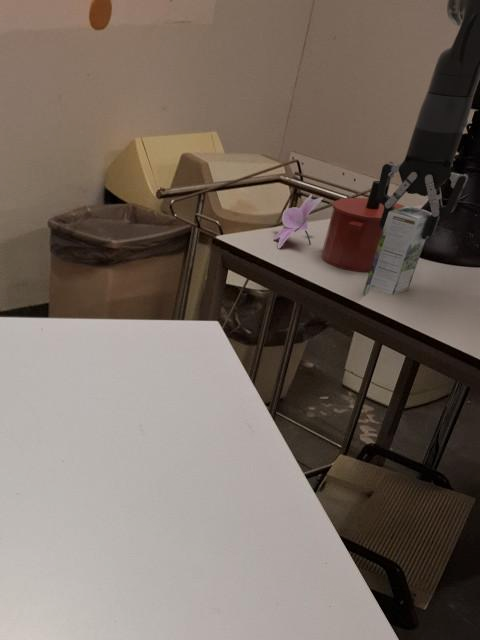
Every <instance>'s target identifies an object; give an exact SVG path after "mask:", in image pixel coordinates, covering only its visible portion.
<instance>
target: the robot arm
mask: <svg viewBox="0 0 480 640" xmlns="http://www.w3.org/2000/svg"><path fill="white" fill-rule="evenodd" d="M446 14H447V16H448V17H447V18H448V19H449V20H450V22H451V23H453V25H455V26H457V27H459V29H458V32H457V33H456V36H455V39H454V40H453V43H452V45H451V46H450V47H449V48H446V49H444V50H443V51H441V53H440V55H439V56H438V58H437V61H436V64H435V66H434V69H433V72H432V75H431V79H430V82H429V85H428V88H427V92H426V95H425V97H424V99H423V102H422V104H421V107H420V109H419V113H418V116H417V119H416V122H415V125H414V128H413V132H412V135H411V139H410V142H409V144H408V148H407V151H406V155H405V158H404V160H403V161H402V162H401V163H394V162H393V161H389V162H387V163H385V164H383V166H382V168H381V171H380V176H379V180H378V181H379V186H378V191H377V195H376V202H378V203H381V204H382V205H383V206H384V211H383V214H382V218H381V221H380V227H382V230H381V231H383V228H384V225H385V222H386V219H387V216H388V213H389V211H392V210H395V207H394V205H395V204H396V203H397V202H398V201H399V200H400V199H401V198H402V197H403V196H404V195H405V194H406V193H407V194H410V195H416V194H417V195H419V196H422V197H427V200H428V203H429V206H430V212H431V213H432V214H431V216H429V219H428V222H427V225H426V228H425V230H424V233H423V236H422V239H425V241H427V240H428V239H429V237H432V236H433V235H434V234H435V232H436V229H437V226H438V224H439V221H440V218H441V216H446V215H447V216H449V215H450V214H451V213H453V212H454V211H455V209H456V207H457V206H458V203H459V200H460V199H461V197H462V195H463V191H464V190H465V187H466V185H467V183H468V180H469V178H470V175H469V174H468V173H463V174H462V173H457V172H454V171H453V164H454V160H455V158H456V155H457V151H458V149H459V146H460V143H461V140H462V137H463V134H464V131H465V129H466V127H467V125H468V120H469V118H470V117H469V116H470V114H471V110H472V106H473V105H472V104H473V102H474V101H473V100H474V97H475V94H476V91H477V89H478V88H477V87H478V85H479V82H480V0H447V4H446ZM397 172H398V174H399V177H400V180H401V184H400V185H399V186H398V187H397V189H396V190H395V191H394V192H393V194H391V196H390V195H388V193H389V190H390V184H391V179H392V178H394V177H395V176H396V174H397ZM449 180H450V182H451V183H450V188H451V189H452V191H451V194H450V196H449V198H448V201H447V203H446V205H443V200H442V198H443V197H442V196H443V195H442V188H441V187H442V186H443V185H444V184H445V183H447V181H449Z"/></svg>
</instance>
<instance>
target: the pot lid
mask: <svg viewBox="0 0 480 640" xmlns="http://www.w3.org/2000/svg"><path fill="white" fill-rule="evenodd" d="M379 181H380V180H373V181H372V185H371V188H370V192H369V194H368V197H346V198H340V199H336V200H335V201H333V202H332V210H333V209H334V210H336V211H338V212H340V213H342V214H345V215H348V216H352V217H357V218H362V219H368V220H378V221H381V218H382V214H383V211H384V206H383V205H382V204H381V203H378V202H376V195H377V191H378V186H379ZM394 207H395V210H396V209H399V208H403V207H406V206H405V205H403V204H399V203H397V202H396V204H395V205H394Z"/></svg>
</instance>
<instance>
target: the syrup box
mask: <svg viewBox="0 0 480 640" xmlns="http://www.w3.org/2000/svg"><path fill="white" fill-rule="evenodd" d="M431 214H432V212H431V211H428V210H426V209H422V208H418V207H415V206H405V207H403V208H399V209H396V210H392V211H389V213H388V216H387V219H386V222H385V225H384V228H383V231H382V235H381V238H380V241H379V244H378V247H377V250H376V253H375V257H374V260H373V263H372V266H371V269H370V272H368V275H367V278H366V282H365V285H364V288H363V291H362V294H363V295H364V296H366V295H368V294H369V293H370V292H371V291H373V290H374V291H378V292H381V293H384V294H388V295H391V296H393V295H396V294H398V293H399V294H400V293H402V292H405V291H408V290H409V289H410V285H411V283H412V279H413V276H414V273H415V271H416V268H417V266H418V263H419V259H420V257H421V254H422V251H423V248H424V245H425V243H426V240H425V239H422V236H423V233H424V230H425V228H426V225H427V222H428V219H429V216H431Z"/></svg>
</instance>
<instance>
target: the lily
mask: <svg viewBox="0 0 480 640" xmlns="http://www.w3.org/2000/svg"><path fill="white" fill-rule="evenodd" d="M312 196H313V194H312V193H311V194H310V195H309V196H308V197H307V198H306V199H305V200H304V202H303V203H302V204H301V205H300V207H297V206H295V207H289V208H286V209H285V210H284V211H283V213H282V218H281V219H282V225H283V227H281V228H280V230H279V231H278V232H277V233H276V234H275V235H274V237H273V238H272V240H273V239H274V240H277V239H278V243H277V249H278V248H279V249H278V250H280V249H281V248H282V246H284V244H285V243H286V241H287V240H288V239H289V237H291V235H292V234H293V233H298V232H305V234H306V237H307V240H308V244H309V245H310V246H311V245H312V242H311V238H310V236H309V233H308V231H307V230H308V229H309V221H308V216H309V214H311V212H312V211H313V210H314V209H315V208H316V206H317V205H318V204H319V203H320V202H322V200H323V199H324V196H321V197H318V198H315V199H313V200H312V198H313V197H312ZM311 200H312V201H311ZM274 240H273V241H274Z"/></svg>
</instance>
